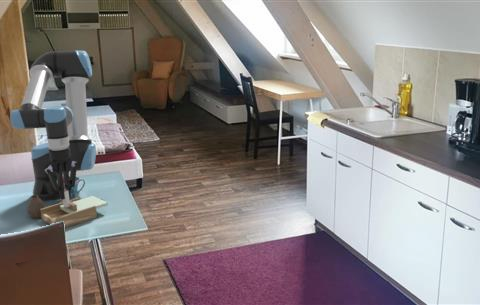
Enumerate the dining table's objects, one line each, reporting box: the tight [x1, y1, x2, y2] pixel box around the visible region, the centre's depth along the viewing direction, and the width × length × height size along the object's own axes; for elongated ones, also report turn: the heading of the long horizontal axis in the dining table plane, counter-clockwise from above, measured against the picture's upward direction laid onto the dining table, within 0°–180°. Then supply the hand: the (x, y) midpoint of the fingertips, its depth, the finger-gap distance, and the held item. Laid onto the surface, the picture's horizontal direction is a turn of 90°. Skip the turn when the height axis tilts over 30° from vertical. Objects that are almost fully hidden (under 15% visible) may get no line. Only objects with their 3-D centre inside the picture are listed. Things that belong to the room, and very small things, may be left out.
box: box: [40, 198, 98, 229], centre depth 188 cm, size 14×16×5 cm
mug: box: [56, 176, 86, 203], centre depth 204 cm, size 12×9×11 cm
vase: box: [26, 195, 47, 220], centre depth 190 cm, size 7×7×9 cm
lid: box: [60, 195, 108, 214], centre depth 192 cm, size 12×15×4 cm
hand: (66, 205), depth 187 cm, fingers closed
